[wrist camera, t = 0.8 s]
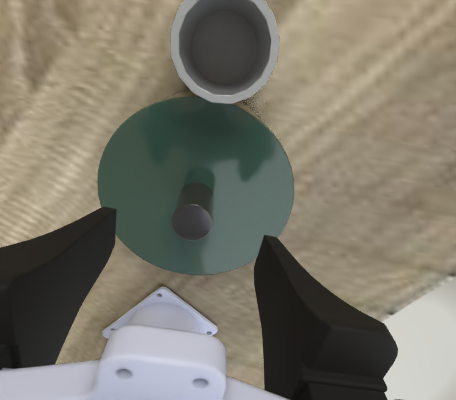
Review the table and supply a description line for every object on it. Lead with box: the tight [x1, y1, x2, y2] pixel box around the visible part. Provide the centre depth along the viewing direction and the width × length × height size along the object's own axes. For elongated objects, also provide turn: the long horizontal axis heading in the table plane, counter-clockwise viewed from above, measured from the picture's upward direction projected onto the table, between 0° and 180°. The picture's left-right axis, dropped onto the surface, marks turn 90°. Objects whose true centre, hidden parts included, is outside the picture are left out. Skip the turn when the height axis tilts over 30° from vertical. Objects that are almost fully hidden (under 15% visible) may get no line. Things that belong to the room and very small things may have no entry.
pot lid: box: [98, 96, 294, 275], centre depth 19 cm, size 13×13×4 cm
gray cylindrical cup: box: [170, 0, 280, 104], centre depth 17 cm, size 5×5×7 cm
